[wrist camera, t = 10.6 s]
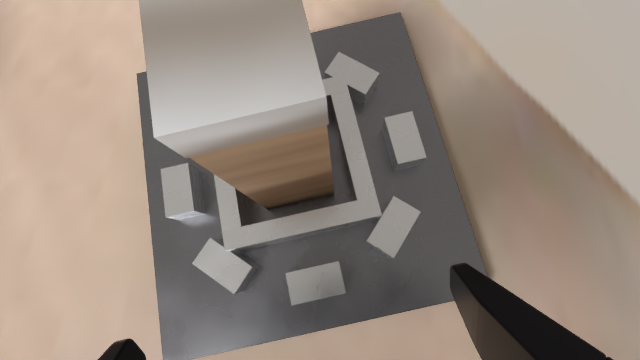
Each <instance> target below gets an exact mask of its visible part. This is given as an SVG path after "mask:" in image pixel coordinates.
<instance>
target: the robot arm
mask: <svg viewBox="0 0 640 360" xmlns="http://www.w3.org/2000/svg"><path fill="white" fill-rule="evenodd" d="M450 289H451V293H452V295H453V298H454V300H455V302H456V304H457V307H458V309H459V311H460V314H461V316H462V318H463V321H464V323H465V325H466V327H467V330H468V332H469V334H470V337H471V339H472V341H473V343H474V345H475V348H476V349H477V351H478V353H479V355H480V357H481V359H482V360H613V359H612V358H610V357H607V358H606V355H605V354H604V353H602V352H601V351H599V350H598V349H596V348H595V347H593V346H592V345H590V344H589V343H587V342H586V341H584V340H583V339H581V338H580V337H578V336H576V335H575V334H573V333H572V332H570V331H569V330H567V329H566V328H564V327H563V326H561V325H560V324H558V323H557V322H555V321H554V320H552V319H551V318H549V317H548V316H546V315H545V314H543V313H542V312H540V311H539V310H537V309H536V308H534V307H533V306H531V305H530V304H528V303H526V302H525V301H523V300H522V299H520V298H519V297H517V296H516V295H514V294H513V293H511V292H510V291H508V290H507V289H505V288H504V287H502V286H501V285H499V284H498V283H496V282H495V281H493V280H492V279H490V278H489V277H487V276H486V275H484V274H483V273H481V272H480V271H478V270H476V269H475V268H473V267H472V266H470V265H469V264H467V263H459V264H455V265H452V266H451V267H450ZM98 360H146V357H145V354H144V353H143V351H142V350H141V349H140V348H139V347H138V345H137V344H136V343H135V342H134V341H133V340H132V339H124V340H120V341H116V342H114V343H113V344H112V345H111V346H110V347H109V348H108V349H107V350H106V351H105V352H104V354H103V355H102V356H101V357H100V358H99V359H98Z"/></svg>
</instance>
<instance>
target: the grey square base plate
mask: <svg viewBox="0 0 640 360" xmlns="http://www.w3.org/2000/svg"><path fill="white" fill-rule="evenodd" d="M310 34H311V38H312V42H313V46H314V50H315V54H316V58H317V62H318V66H319V70H320V74H321V78H322V82H323V85H324V89H325V93H326V98H327V109H328V120H329V124H328V125H327V130H328V139H329V148H330V158H331V167H332V176H333V186H334V195H329V196H325V197H321V198H317V199H312V200H308V201H304V202H300V203H295V204H291V205H287V206H282V207H278V208H274V209H270V210H267V209H266V208H264V207H263V206H261V205H260V204H258V203H257V202H255V201H254V200H252V199H251V198H249V197H248V196H246V195H245V194H243V193H242V192H240V191H239V190H237V189H236V188H234V187H233V186H231V185H230V184H228V183H227V182H225V181H224V180H222V179H221V178H219V177H218V176H216V175H215V174H213V173H212V172H210V171H209V170H207V169H206V168H204V167H203V166H201V165H200V164H198V163H197V162H195V161H194V160H192V159H191V158H184V157H183V156H181V155H180V154H178V153H177V152H175V151H174V150H172V149H170V148H169V147H167V146H166V145H164V144H163V143H161V142H160V141H158V140H156V139H155V138H154V136H153V126H152V117H151V108H150V98H149V89H148V80H147V71H146V72H142V73H138V74H137V83H138V93H139V104H140V115H141V126H142V137H143V148H144V158H145V169H146V180H147V191H148V202H149V213H150V224H151V234H152V245H153V256H154V267H155V278H156V289H157V299H158V310H159V321H160V332H161V343H162V354H163V360H191V359H196V358H200V357H205V356H209V355H214V354H218V353H222V352H227V351H231V350H236V349H240V348H245V347H249V346H254V345H258V344H263V343H267V342H272V341H276V340H281V339H285V338H289V337H294V336H298V335H303V334H307V333H312V332H316V331H321V330H325V329H330V328H334V327H339V326H343V325H348V324H352V323H356V322H361V321H365V320H370V319H374V318H379V317H383V316H388V315H392V314H397V313H401V312H406V311H410V310H415V309H419V308H423V307H428V306H432V305H437V304H441V303H446V302H450V301H455V300H454V298H453V295H452V293H451V289H450V267H451V266H452V265H455V264H459V263H467V264H469V265H470V266H472V267H473V268H475V269H476V270H478V271H480V272H481V273H483V274H484V275H486V276H487V273H486V270H485V267H484V264H483V261H482V258H481V255H480V252H479V249H478V246H477V243H476V240H475V237H474V234H473V231H472V228H471V225H470V222H469V219H468V216H467V213H466V210H465V207H464V204H463V201H462V197H461V194H460V191H459V188H458V185H457V182H456V179H455V176H454V173H453V170H452V167H451V164H450V161H449V158H448V155H447V152H446V149H445V146H444V143H443V140H442V137H441V134H440V131H439V128H438V125H437V122H436V119H435V116H434V113H433V110H432V107H431V104H430V101H429V98H428V95H427V92H426V89H425V86H424V83H423V79H422V76H421V73H420V70H419V67H418V64H417V61H416V58H415V55H414V52H413V49H412V46H411V43H410V40H409V37H408V34H407V31H406V28H405V25H404V22H403V19H402V16H401V13H400V12H399V13H395V14H391V15H386V16H382V17H378V18H374V19H369V20H365V21H361V22H356V23H352V24H348V25H344V26H339V27H335V28H331V29H326V30H322V31H318V32H314V33H310ZM487 277H488V276H487Z"/></svg>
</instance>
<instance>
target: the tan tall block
mask: <svg viewBox="0 0 640 360" xmlns="http://www.w3.org/2000/svg"><path fill="white" fill-rule="evenodd" d="M139 6H140V15H141V24H142V33H143V43H144V52H145V61H146V71H147V80H148V89H149V98H150V108H151V117H152V126H153V136H154V138H155V139H156V140H158V141H160V142H161V143H163V144H164V145H166V146H167V147H169V148H170V149H172V150H174V151H175V152H177V153H178V154H180V155H181V156H183V157H184V158H191V159H192V160H194V161H195V162H197V163H198V164H200V165H201V166H203V167H204V168H206V169H207V170H209V171H210V172H212V173H213V174H215V175H216V176H218V177H219V178H221V179H222V180H224V181H225V182H227V183H228V184H230V185H231V186H233V187H234V188H236V189H237V190H239V191H240V192H242V193H243V194H245V195H246V196H248V197H249V198H251V199H252V200H254V201H255V202H257V203H258V204H260V205H261V206H263V207H264V208H266V209H267V210H270V209H274V208H278V207H282V206H287V205H291V204H295V203H300V202H304V201H308V200H312V199H317V198H321V197H325V196H329V195H334V186H333V176H332V167H331V158H330V148H329V139H328V130H327V125H328V124H329V120H328V109H327V98H326V93H325V89H324V85H323V82H322V78H321V74H320V70H319V66H318V62H317V58H316V54H315V50H314V46H313V42H312V38H311V34H310V30H309V26H308V22H307V18H306V15H305V11H304V7H303V3H302V0H139Z"/></svg>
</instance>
